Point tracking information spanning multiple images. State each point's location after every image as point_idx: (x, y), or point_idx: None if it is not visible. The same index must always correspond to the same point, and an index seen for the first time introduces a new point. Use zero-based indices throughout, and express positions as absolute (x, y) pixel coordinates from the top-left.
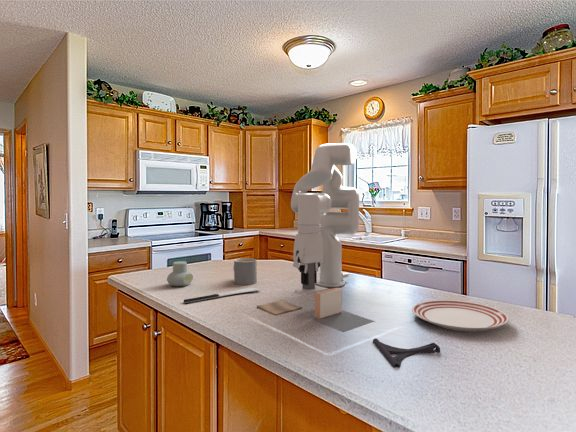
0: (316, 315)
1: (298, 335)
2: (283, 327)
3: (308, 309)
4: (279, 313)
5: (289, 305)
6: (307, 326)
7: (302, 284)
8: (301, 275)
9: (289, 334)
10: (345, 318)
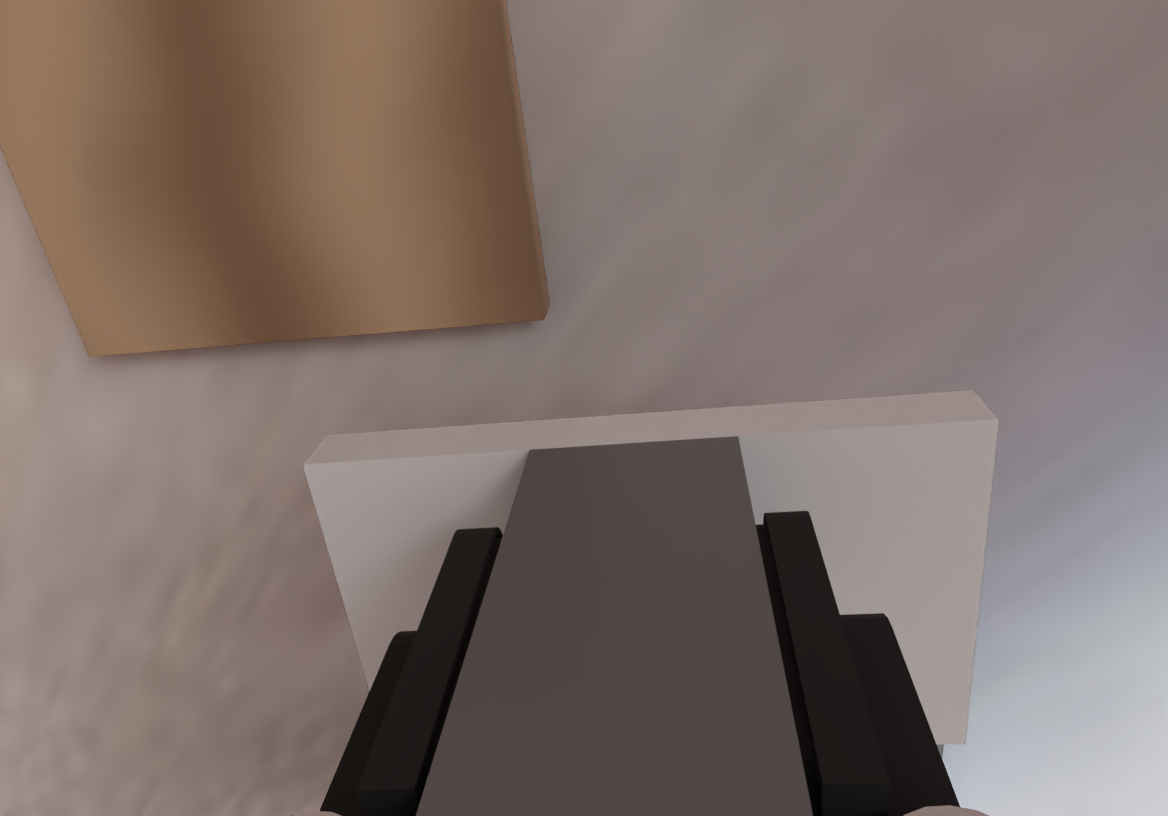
0: None
1: (184, 785)
2: (115, 615)
3: (662, 324)
4: (151, 349)
5: (423, 123)
6: (340, 705)
7: (515, 500)
8: (346, 781)
9: (121, 741)
10: None
